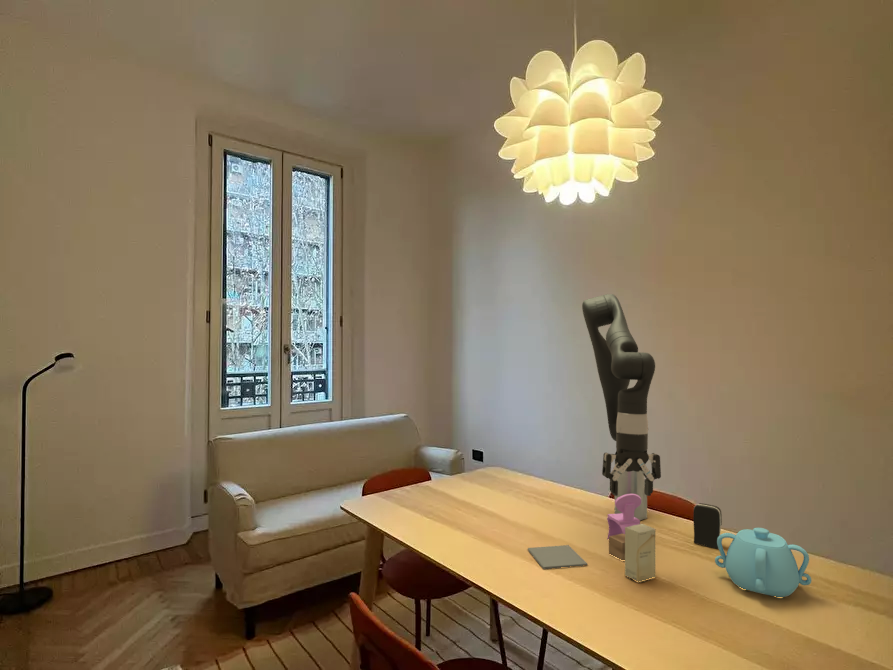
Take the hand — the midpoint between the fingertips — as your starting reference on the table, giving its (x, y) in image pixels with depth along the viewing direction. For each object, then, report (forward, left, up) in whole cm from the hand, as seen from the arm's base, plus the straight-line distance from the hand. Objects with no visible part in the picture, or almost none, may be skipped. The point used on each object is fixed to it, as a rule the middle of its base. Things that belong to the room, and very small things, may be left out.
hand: (631, 495), depth 130 cm
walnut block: (-2, -8, -19) cm, 21 cm away
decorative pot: (-26, +13, -19) cm, 35 cm away
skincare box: (0, +4, -19) cm, 20 cm away
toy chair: (-7, -16, -19) cm, 26 cm away
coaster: (+16, -10, -19) cm, 27 cm away
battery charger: (-30, -11, -19) cm, 38 cm away
